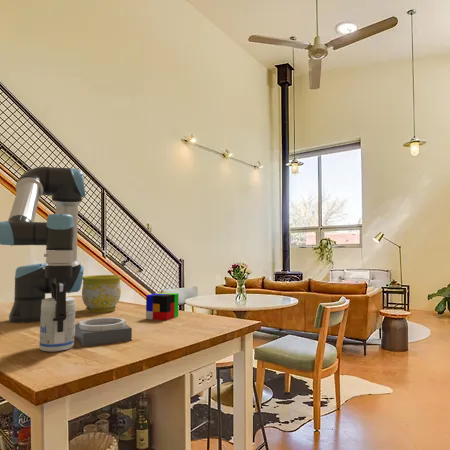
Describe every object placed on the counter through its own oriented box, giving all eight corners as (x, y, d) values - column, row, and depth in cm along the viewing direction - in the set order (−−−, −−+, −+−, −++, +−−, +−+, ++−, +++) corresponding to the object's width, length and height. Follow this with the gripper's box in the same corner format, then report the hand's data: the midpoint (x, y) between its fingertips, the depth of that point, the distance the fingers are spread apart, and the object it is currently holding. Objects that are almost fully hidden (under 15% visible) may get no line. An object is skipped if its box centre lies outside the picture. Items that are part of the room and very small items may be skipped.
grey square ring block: (74, 336, 128) (75, 319, 128) (118, 331, 135) (119, 315, 136) (82, 346, 114) (83, 328, 114) (131, 340, 121) (131, 323, 122)
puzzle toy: (146, 319, 159) (146, 295, 159) (158, 315, 168) (158, 292, 169) (166, 320, 155) (166, 296, 156) (178, 316, 164) (178, 293, 165)
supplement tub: (33, 348, 112) (35, 299, 113) (64, 342, 119) (65, 295, 120) (48, 354, 105) (50, 302, 106) (80, 347, 113) (81, 298, 114)
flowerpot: (128, 310, 180) (128, 276, 181) (94, 315, 167) (94, 278, 168) (107, 306, 192) (108, 274, 193) (74, 311, 179) (74, 276, 180)
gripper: (42, 263, 121) (40, 333, 120) (49, 266, 102) (46, 349, 101) (67, 263, 125) (65, 330, 124) (78, 265, 106) (76, 346, 105)
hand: (57, 339), depth 112 cm, fingers closed on supplement tub, 10 cm apart
